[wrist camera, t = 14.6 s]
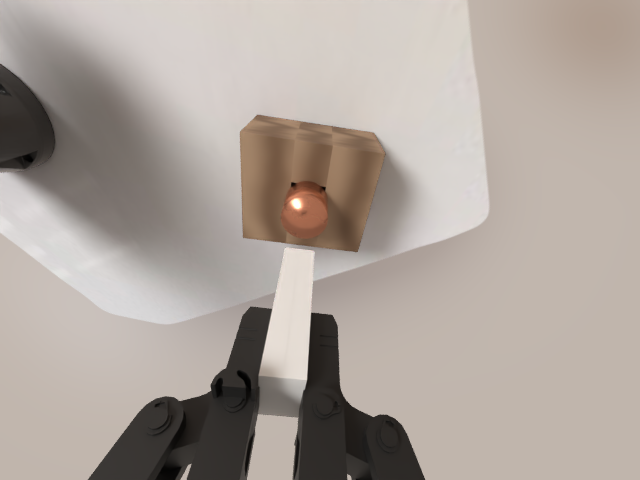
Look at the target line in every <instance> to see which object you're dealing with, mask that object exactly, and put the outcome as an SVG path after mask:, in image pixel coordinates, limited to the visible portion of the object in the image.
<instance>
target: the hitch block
mask: <svg viewBox="0 0 640 480" xmlns="http://www.w3.org/2000/svg"><path fill="white" fill-rule="evenodd" d="M240 152H241V186H242V220H243V238H249V239H257V240H265V241H273V242H281V243H289V244H297V245H305V246H313V247H321V248H329V249H337V250H345V251H353V252H358V249H359V245H360V242H361V238H362V235H363V231H364V228H365V224H366V221H367V217H368V214H369V210H370V206H371V203H372V199H373V196H374V192H375V189H376V185H377V182H378V178H379V175H380V171H381V168H382V164H383V161H384V157H385V152H384V150H383V149H382V147H381V145H380V143H379V141H378V140H377V138H376V136H375V134H374V133H371V132H365V131H358V130H352V129H346V128H339V127H333V126H326V125H320V124H313V123H307V122H300V121H294V120H288V119H281V118H275V117H268V116H262V115H257V116H256V117H255V118H254V119H253V120H252V121H251V122H250V123H249V124H248V125H247V126H246V127H244V128H243V129H242V130H241V131H240ZM301 181H311V182H314V183H316V184H318V185H320V186H322V188H323V189H324V191H325V192H326V194H327V198H328V223H327V226H326V228H325V230H324V231H323V232H322V233H321V234H319V235H318V236H316V237H313V238H308V239H302V238H297V237H295V236H293V235H291V234H289V233H288V232H287V231H286V230H285V229H284V227H283V225H282V222H281V213H282V209H283V205H284V202H285V198H286V194H287V192H288V190H289V189H290V187H291V186H293V185H294V184H295V183H298V182H301Z"/></svg>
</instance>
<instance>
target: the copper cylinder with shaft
mask: <svg viewBox="0 0 640 480" xmlns="http://www.w3.org/2000/svg"><path fill="white" fill-rule="evenodd" d="M281 222H282V225H283V227H284V229H285V230H286V231H287V232H288V233H289V234H291V235H293V236H295V237H297V238H302V239H308V238H313V237H316V236H318V235H319V234H321V233H322V232H323V231H324V230H325V228H326V226H327V223H328V198H327V194H326V192H325V191H324V189H323V188H322V187H321V186H320V185H318V184H316V183H314V182H311V181H301V182H298V183H296V184H294V185H293V186H291V187H290V189H289V190H288V192H287V194H286V198H285V202H284V205H283V209H282V213H281Z"/></svg>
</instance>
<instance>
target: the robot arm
mask: <svg viewBox="0 0 640 480" xmlns="http://www.w3.org/2000/svg"><path fill="white" fill-rule="evenodd" d="M53 149H54V133H53V129H52V126H51V123H50V121H49V118H48V116H47V114H46V112H45V111H44V109H43V107H42V106H41V104H40V103H39V101H38V100H37V99H36V97H35V96H34V95H33V94H32V92H31V91H30V90H29V89H28V88H27V87H26V86H25V85H24V84H23V83H22V82H21V81H20V80H19V79H18V78H17V77H16V76H15V75H13V74H12V73H11V72H10V71H9V70H7V69H6V68H5V67H3V66H2V65H0V173H2V172H18V171H23V170H27V169H30V168H33V167H35V166H37V165H40V164H42V163H44V162H45V161H47V160H48V159H49V157H50V156H51V154H52V152H53ZM314 253H315V251H312V250H304V249H296V248H288V247H285V251H284V255H283V260H282V265H281V270H280V275H279V280H278V284H277V289H276V294H275V299H274V304H273V309H267V308H258V307H250V308H249V309H248V310H247V311H246V313H245V314H244V315H243V316H242V319H241V323H240V326H239V330H238V332H237V336H236V339H235V342H234V345H233V348H232V351H231V355H230V358H229V361H228V364H227V367H226V369H224V370H222V371H221V372H220V373H219V374H218V375H216V376H215V378H214V379H213V381H212V383H211V390H212V391H210V392H208V393H207V394H204V395H202V396H199V397H195V398H191V399H187V400H183V401H178V400H177V399H176V398H174V397H162V398H157V399H155V400H153V401H151V402H150V403H148V404H147V405H146V406H145V407H144V408H143V409H142V410H141V411H140V412H139V413H138V414H137V415H136V417H135V418H134V419H133V421H132V422H131V423H130V425H129V426H128V427H127V429H126V430H125V431H124V433H123V434H122V435H121V436H120V438H119V439H118V440H117V442H116V443H115V444H114V446H113V447H112V448H111V450H110V451H109V452H108V454H107V455H106V456H105V458H104V459H103V460H102V462H101V463H100V464H99V466H98V467H97V468H96V470H95V471H94V472H93V474H92V475H91V476H90V478H89V479H88V480H180V479H181V477H182V475H183V474H184V472H185V470H186V468H187V466H188V465H189V464H192V465H191V468H190V471H189V474H188V477H187V480H247V475H248V470H249V464H250V458H251V453H252V448H253V442H254V437H255V426H256V421H257V415H258V414H263V415H276V416H287V417H299V418H298V431H297V435H296V440H295V457H294V470H293V480H347V474H348V475H350V476H351V478H352V480H425V478H424V476H423V473H422V471H421V468H420V466H419V463H418V461H417V458H416V456H415V453H414V451H413V448H412V446H411V443H410V441H409V438H408V436H407V433H406V432H405V430H404V428H403V427H402V425H401V424H400V423H399V422H398V421H397V420H396V419H394V418H393V417H390V416H388V415H378V416H375V417H372V416H370V415H368V414H365V413H363V412H361V411H359V410H357V409H356V408H354V407H352V406H351V405H350V404H349V403H348V402H347V401H346V399H345V398H344V397H343V394H342V392H341V389H340V378H339V351H338V327H337V324H336V321H335V319H334V317H333V315H328V314H319V313H311V303H312V285H313V269H314Z"/></svg>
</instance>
